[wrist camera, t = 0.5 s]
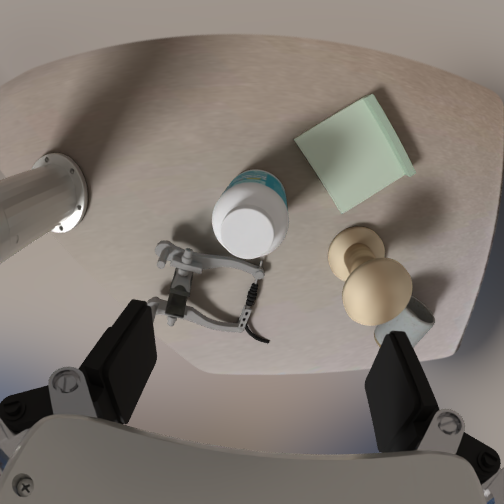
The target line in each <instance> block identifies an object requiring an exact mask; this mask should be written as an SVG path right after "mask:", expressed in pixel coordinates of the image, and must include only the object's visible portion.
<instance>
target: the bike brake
mask: <svg viewBox="0 0 504 504" xmlns="http://www.w3.org/2000/svg"><path fill="white" fill-rule="evenodd" d="M155 253H156V254H157V255H158V256H159V259H158V262H157V267H158V268H161V269H162V268H164V266H165V264H166V261H167V260H168V261H171V263H170V266H173V267H176V269H175V273H174V277H173V280H172V284H171V288H170V294H169V298H168V301H165V300H162V299H159V298H158V297H153V298H151V299H149V300H148V302H147V304H148V306H151V309H152V319H153V322H154V318H155V315H157V314H162V315H168V317H167V319H168V323H167V324H168V325H169V326H173V325H174V323H175V321H176V320H177V318H180V319H185V320H188V321H191V322H194V323H196V324H199V325H202V326H204V327H207V328H210V329H213V330H219V331H227V332H240V333H241V332H243V331H244V328H245V330H246V331H247V333H248V334H249V335H250V336H252V337H253V338H254V339H256V340H258V341H261V342H264V343H269V340H265V339H262V338H260V337H257V336H256V335H255V334H253V333H252V332H251V331H250V329H249V328H248V326H247V320H248V318H249V316H250V313H251V306H252V305H253V304H254V301H255V299H256V296H257V293H256V292H257V290H258V288H257V287H258V284H257V281H258V279H262V278H263V277H264V269H263V268H262V267H261V266H262V263H263V261H261V262H260V266H256V265H253V264H251V263H248V262H246V261H243V260H241V259H238V258H234V257H228V256H219V255H209V254H202V253H197V252H193V250H192V249H190V248H186V249H185V250H184V249H182V248H179V247H177V246H175V245H174V244H172V243H171V242H170V241H160V242H159V243H158V244H157V246H156V248H155ZM216 267H231V268H236V269H240V270H243V271H245V272H248V273H250V274H252V275H253V277H254V278H255V279H256V280H255V283H252V286H251V289H250V291H248V295H247V300H246V305H245V306H244V308H243V311H242V313H241V316H240V318H239V321H238V323H227V322H220V321H216V320H213V319H210V318H208V317H206V316H204V315H203V314H201V313H200V312H199V311H197V310H196V309H194V308H193V307H190V306H186V301H187V297H189V296H190V289H191V283H192V277H193V272H195V273H199V274H202V270H203V269H210V268H216ZM242 315H243V316H242ZM240 320H241V321H240Z"/></svg>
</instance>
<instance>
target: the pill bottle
mask: <svg viewBox="0 0 504 504" xmlns="http://www.w3.org/2000/svg"><path fill="white" fill-rule="evenodd" d="M288 225H289V216H288V209H287V200H286V194H285V190H284V187H283V185H282V183H281V182H280V181H279V180H278V178H276V177H275V176H274V175H273V174H271V173H269V172H267V171H264V170H257V169H255V170H248V171H245V172H243V173H241V174H239V175H238V176H237V177H235V178H234V179H233V181H232V182H231V183H230V184H229V186H228V187H227V188H226V190H225V191H224V193H223V194H222V195H221V197H220V198H219V199H218V201H217V203H216V205H215V207H214V210H213V215H212V226H213V230H214V233H215V235H216V237H217V239H218V241H219V242H220V243H221V245H222V246H223V247H224V248H226V249H227V250H228V251H229V252H230V253H231V254H233V255H234V256H236V257H239V258H243V259H254V258H257V257H261V256H264V255H267V254H269V253H271V252H272V251H274V250H275V249H276V248H277V247H278V246H279V245H280V244H281V243H282V241H283V240H284V238H285V236H286V234H287V231H288Z"/></svg>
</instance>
